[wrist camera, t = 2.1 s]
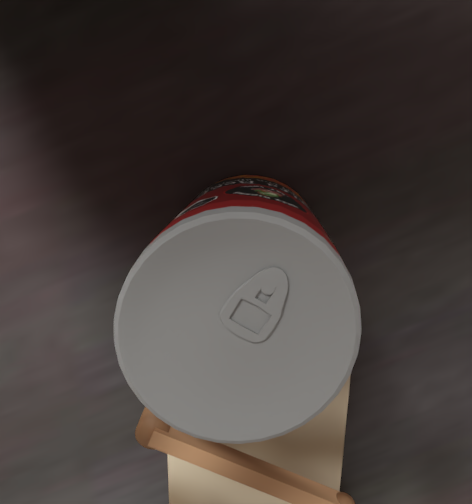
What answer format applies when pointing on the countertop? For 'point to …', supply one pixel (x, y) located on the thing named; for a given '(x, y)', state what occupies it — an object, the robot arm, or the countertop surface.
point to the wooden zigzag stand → (255, 462)
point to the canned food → (238, 315)
